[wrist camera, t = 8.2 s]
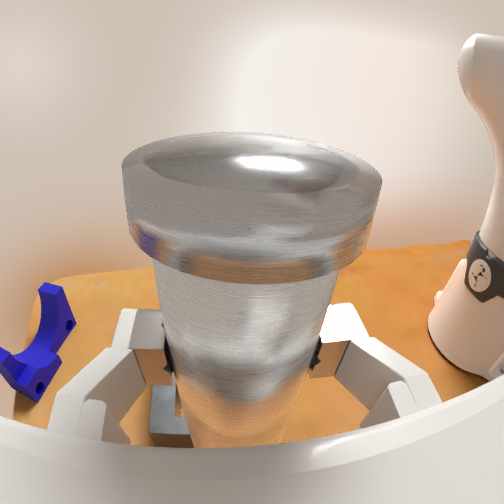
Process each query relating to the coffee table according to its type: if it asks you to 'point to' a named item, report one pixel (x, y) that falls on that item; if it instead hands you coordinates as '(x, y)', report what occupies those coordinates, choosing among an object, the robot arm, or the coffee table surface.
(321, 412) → the coffee table surface
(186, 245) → the steel bushing
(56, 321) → the cable clip
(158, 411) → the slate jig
